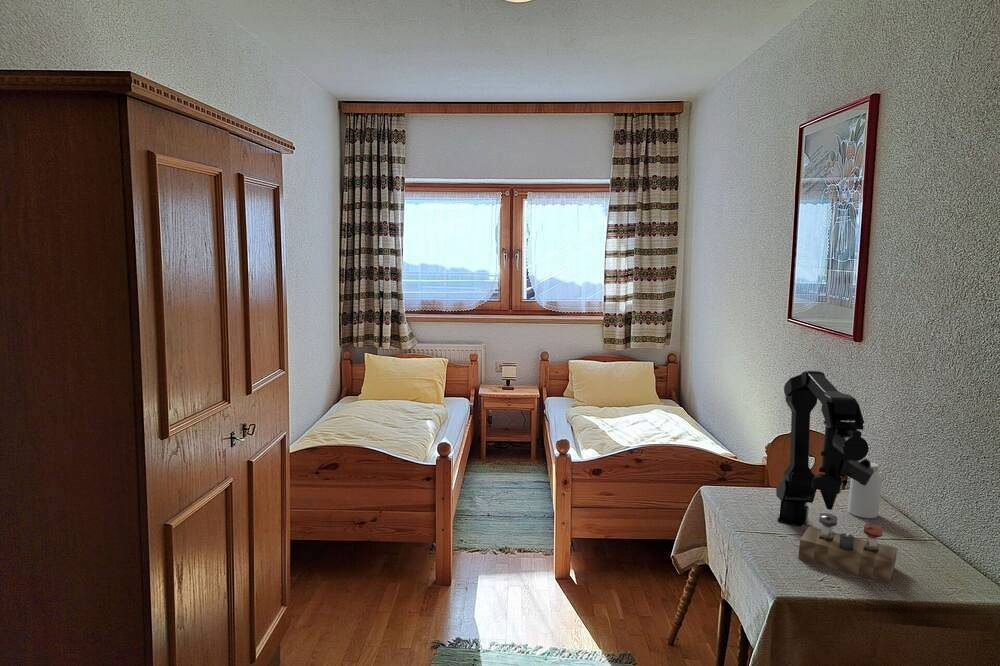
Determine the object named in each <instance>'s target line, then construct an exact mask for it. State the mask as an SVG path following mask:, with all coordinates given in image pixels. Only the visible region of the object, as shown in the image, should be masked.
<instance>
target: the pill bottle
mask: <svg viewBox="0 0 1000 666" xmlns="http://www.w3.org/2000/svg"><path fill="white" fill-rule="evenodd" d="M860 461H861V460H859V461H858V462H860ZM870 462H871V469H872V468H873V470H874V473H873V474H872V476H871V478H870V479H869V481H868V483H867V484H866V486H864V485H862V484H860V483H859V482H858V481H856V480H854V479H852V478H850V484H849V485H850V486H849V491H848V492H849V493H848V501H847V502H848V503H847V510H848V511H847V512H848V513H849V514H851V515H853V516H855V517H857V518H863V519H875V518H877V517H878V516H879V514H880V513H879V512H880V503H881V495H882V485H883V478H882V476H881V474H879V473H878V472H879V469H880V468H879V464H878V463H875V462H873V461H870Z"/></svg>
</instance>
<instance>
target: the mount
mask: <svg viewBox="0 0 1000 666" xmlns="http://www.w3.org/2000/svg"><path fill="white" fill-rule="evenodd" d="M821 532H822V528H818V527H814V526H808V527H807V529H806V530H805V532H803V533H804V534H803V535H802V536H801V537H800V539H799V546H798V547H799V549H798V555H797V559H799V560H802V561H806V562H810V563H813V564H817V565H821V566H824V567H827V568H831V569H835V570H838V571H842V572H847V573H850V574H853V575H857V576H859V577H860V576H861V577H865V578H868V579H873V580H874V581H878V582H883V583H885V584H890V582H891V579H892V576H893V573H894V570H895V568H896V559H897V551H898V548H897V547H894V546H890V545H886V544H882V543H877V551H876V553H874V552H870V551H866V550H865V548H866V539H862V538H859V537H858V538H857V537H854V544H853V550H851V551H847V550H843V549H841V548H840V547H839V543H840V535H841V534H842V533H837V532H833V531H832V539H831V542H830V541H826V540H823V539H821Z"/></svg>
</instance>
